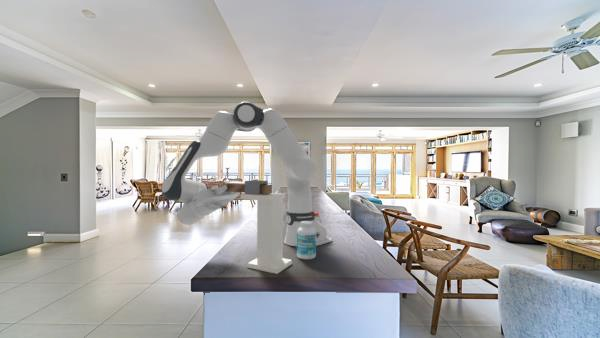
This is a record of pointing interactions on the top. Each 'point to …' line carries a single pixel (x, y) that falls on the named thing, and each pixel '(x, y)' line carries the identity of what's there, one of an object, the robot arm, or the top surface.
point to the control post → (267, 228)
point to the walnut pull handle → (241, 188)
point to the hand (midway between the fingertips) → (231, 186)
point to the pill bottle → (306, 241)
